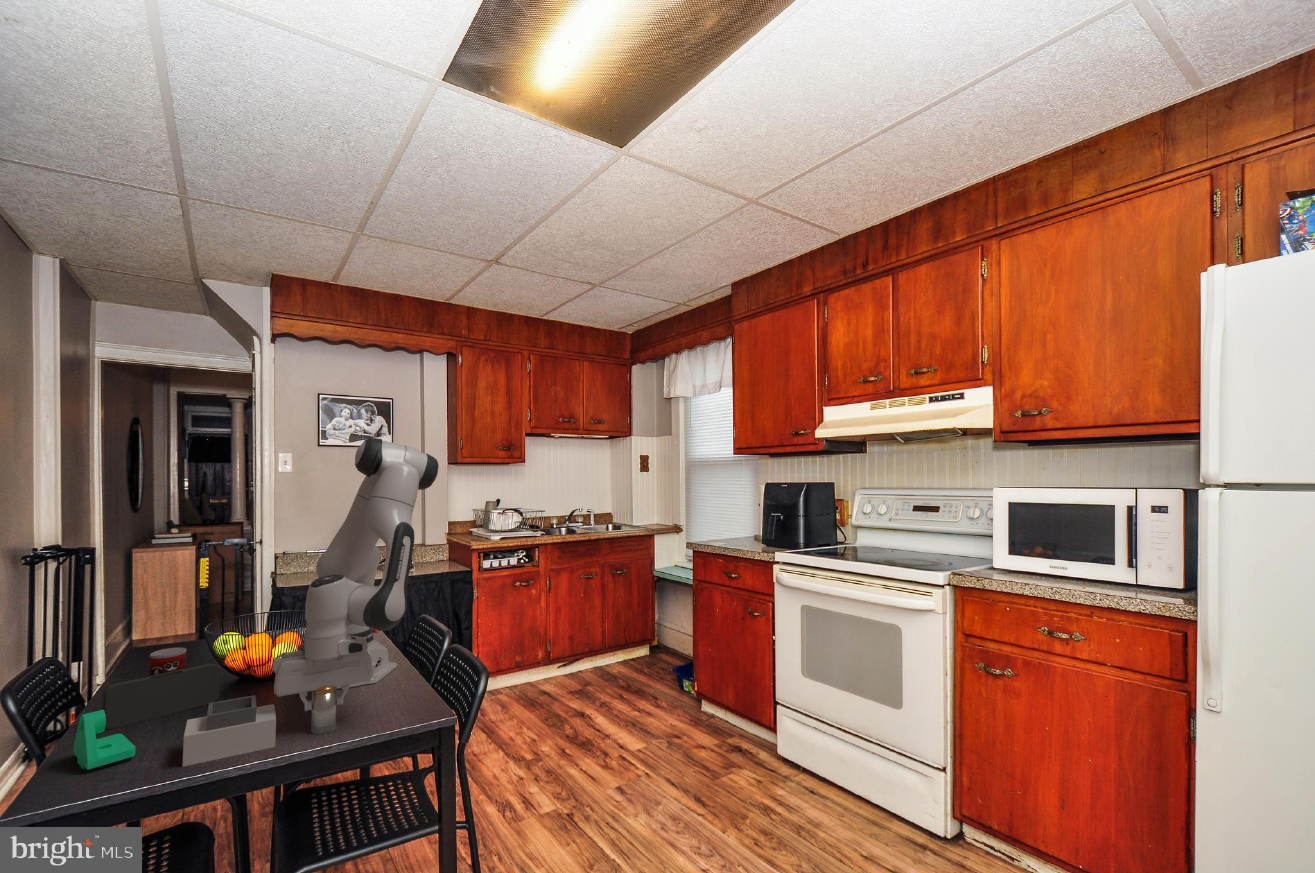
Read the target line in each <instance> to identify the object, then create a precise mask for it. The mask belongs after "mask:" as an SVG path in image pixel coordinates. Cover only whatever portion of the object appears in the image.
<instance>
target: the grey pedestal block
mask: <svg viewBox="0 0 1315 873" xmlns="http://www.w3.org/2000/svg"><path fill="white" fill-rule="evenodd" d="M275 708H276V707H275V704H267V705H262V706H258V707H257V696H256V694H255V695H250V696H244V697H243V696H242V697H237V698H231V699H225V700H218V701H216V702H213V703H209V704H208V708H207V713H206V714H207V715H206V716H201V717H196V718H190V719H187V720H186V724H185V730H184V733H183V734H184V735H183V746H182V748H183V750H182V768H183V767H188V766H193V765H197V764H202V763H206V762H212V761H216V760H221V759H225V758H231V757H235V756H240V755H245V754H248V753H253V752H254V753H255V752H257V751H258V752H260V751H262V750H267V749H273V748H276V738H277V736H276V733H277V732H276V731H277V729H276V728H277V715H276V709H275Z"/></svg>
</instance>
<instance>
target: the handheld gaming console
mask: <svg viewBox="0 0 1315 873" xmlns="http://www.w3.org/2000/svg"><path fill="white" fill-rule="evenodd" d="M220 677H221V666H219V665H218V664H217V663H214V662H213V663H205V664H200V665H197V666H189V667H186V668H184V669H179V670H174V671H169V672H165V673H160V674H155V675H150V676H149V675H147V676H141V677H137V678H132V679H130V680H125V681H120V682H115V683H112V684H110V685H107V686H106V687H105V688H104V689H103V690H102V693H101V694H102V697H101V698H102V699H101V710H104V712H105V717H106V726H105V730H112V729H117V728H123V727H125V726H130V725H134V724H138V723H142V722H145V721H149V720H154V719H157V718H161V717H165V716H168V715H172V714H176V713H180V712H184V711H189V710H192V709H196V708H199V707H200V708H201V707H203V706H207V705H208V706H209V703H213V702H217V700H218V699H219V698H220Z"/></svg>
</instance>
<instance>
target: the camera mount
mask: <svg viewBox="0 0 1315 873" xmlns="http://www.w3.org/2000/svg"><path fill="white" fill-rule="evenodd" d="M105 726H106V717H105V712H104V710H102V709H99V710H97V711H92V712H87V713H83V714H81V715H80V716H79V721H78V726H77V730H76V732H75V733H76V734H75V738H74V742H73V754H74V756H75V757H76V758H77V760H76V761H77V762H76V763H77V764H78V765H79V767H80V768H81V769H82V770H85V769H86V770H87V771H88V770H92V769H95V768H98V767H102V766H104V765H105V766H106V765H108V764H111V763H112V764H113V763H115V762H119V761H123V760H126V759H129V758H132V757H134V756H135V755H136V749H137V748H136V745H134V744H133V743H132V742H131V741H130V740H129V739H128V738H127V737H126V736H125V735H124V734H123V733H116V734H111V735H108V736H104V737H101V738H97V735H96V734H99V733H104V732H105V730H106V728H105Z"/></svg>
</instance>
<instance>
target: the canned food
mask: <svg viewBox="0 0 1315 873" xmlns="http://www.w3.org/2000/svg"><path fill="white" fill-rule="evenodd" d="M148 660H149V661H148V662H149V663H148V676H150V675H155V674H160V673H165V672H169V671H174V670H179V669H184V668H187V648H186V647H169V648H162V649H159V650H156V651H153V652H151V653H150V654H149V659H148Z"/></svg>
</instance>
